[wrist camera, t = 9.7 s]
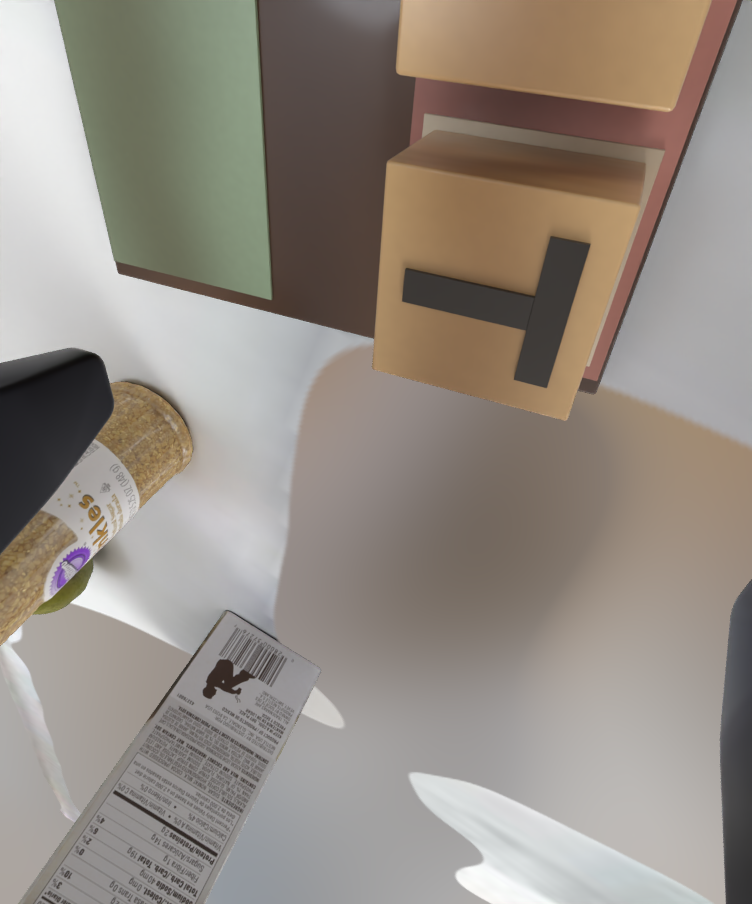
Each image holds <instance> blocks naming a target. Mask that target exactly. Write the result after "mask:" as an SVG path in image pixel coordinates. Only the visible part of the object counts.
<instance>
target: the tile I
mask: <svg viewBox="0 0 752 904" xmlns="http://www.w3.org/2000/svg"><path fill="white" fill-rule="evenodd" d="M711 2H712V0H401V3H400V17H399V30H398V44H397V58H396V72H397V73H398V74H399V75H403V76H410V77H417V78H425V79H432V80H439V81H446V82H453V83H460V84H468V85H475V86H482V87H489V88H496V89H504V90H511V91H518V92H525V93H532V94H540V95H547V96H554V97H561V98H568V99H575V100H583V101H590V102H597V103H604V104H611V105H619V106H626V107H633V108H640V109H647V110H654V111H662V112H670V111H672V110H673V109H674V108H675V106H676V103H677V101H678V98H679V95H680V92H681V89H682V86H683V83H684V80H685V77H686V75H687V72H688V69H689V66H690V63H691V60H692V57H693V54H694V51H695V49H696V46H697V43H698V40H699V37H700V34H701V31H702V28H703V25H704V23H705V20H706V17H707V14H708V11H709V8H710V5H711Z"/></svg>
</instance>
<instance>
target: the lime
mask: <svg viewBox="0 0 752 904" xmlns="http://www.w3.org/2000/svg"><path fill="white" fill-rule="evenodd" d="M92 572H93V559H92V558H91V559H90V560H89V561H88V562H87V563H86V564H85V565H84V566H83V567H82V568H81V569H80V570H79V571H78V572H77V573H76V574H75V575H74V576H73V577H72V578H71V579H70V580H69V581H68V582H67V583H66V584H65V585H64V586H63V587H62V588H61V589H60V590H59V591H58V592H57V593H56V594H55V595H54V596H53V597H52V598H51V599H49V600H48V601H46V602H44V603H43V604H41V605H40V606H39V607H38V609H37V610H36V611H35V612H34V613H33V614H32V615H34V614H47V613H51V612H55V611H58V610H60V609H62V608H64V607H66V606H67V605H68V604H69V603H70V602H71V601H73V600H74V599H75V598H76V597H78V596H79V595H80V594H81V593H82V592H83V591H84V590H85V588H86V586H87V583H88V581H89V579H90V577H91V574H92Z"/></svg>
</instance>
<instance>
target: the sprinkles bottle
mask: <svg viewBox="0 0 752 904" xmlns="http://www.w3.org/2000/svg"><path fill="white" fill-rule="evenodd" d="M110 386H111V390H112V393H113V397H114V409H113V412H112V415H111V417H110V418H109V420H108V421H107V422H106V424H105V425H104V426H103V428H102V429H101V431H100V432H99V433H98V435H97V436H96V438H95V439H94V440H93V442H92V443H91V444H90V446H89V447H88V449H87V450H86V451H85V453H84V454H83V455H82V457H81V458H80V460H79V461H78V462H77V464H76V465H75V466H74V468H73V469H72V471H71V472H70V473H69V475H68V476H67V477H66V479H65V480H64V482H63V483H62V484H61V486H60V487H59V488H58V489H57V491H56V492H55V493H54V495H53V496H52V497H51V498H50V499H49V500H48V502H47V503H46V504H45V505H44V506H43V507H42V509H41V510H40V511H39V512H38V513H37V514H36V515H35V516H34V518H33V519H32V520H31V521H30V522H29V523H28V524H27V525H26V527H25V528H24V529H23V530H22V531H21V532H20V533H19V534H18V536H17V537H16V538H15V539H14V540H13V541H12V542H11V543H10V545H9V546H8V547H7V548H6V549H5V550H4V551H3V552H2V554H1V555H0V646H1V645H2V644H3V643H4V642H5V641H6V640H7V639H8V638H9V636H10V635H12V634H13V633H14V632H15V631H16V630H17V629H18V628H19V627H20V626H21V625H22V624H23V623H24V622H25V621H26V620H27V619H28V618H29V617H30V616H31V615H32V614H33V613H34V612H35V611H36V610H37V609H38V607H39V606H40V605H41V604H43V603H44V602H46V601H48V600H49V599H51V598H52V597H53V596H54V595H55V594H56V593H57V592H58V591H59V590H60V589H61V588H62V587H63V586H64V585H65V584H66V583H67V582H68V581H69V580H70V579H71V578H72V577H73V576H74V575H75V574H76V573H77V572H78V571H79V570H80V569H81V568H82V567H83V566H84V565H85V564H86V563H87V562H88V561H89V560H90V559H91V558H92V557H93V556H94V555H95V554H96V553H97V552H98V551H99V550H100V549H101V548H102V547H103V546H104V545H106V544H107V543H108V542H109V541H110V540H111V539H112V538H113V537H114V536H115V535H116V534H117V533H118V532H119V531H120V530H121V529H122V528H123V527H124V526H125V525H126V524H127V523H128V522H129V521H130V520H131V519H132V518H133V517H134V516H135V515H136V513H137V511H138V510H139V509H140V508H141V507H142V506H143V505H144V504H145V503H146V502H147V501H148V500H149V499H150V498H151V497H152V496H153V495H154V494H155V493H156V492H157V491H158V490H159V489H160V488H161V487H162V486H163V485H164V484H165V483H166V482H167V481H168V480H169V479H171V478H172V477H173V476H174V475H177V474H178V473H180V472H181V471H182V470H183V469H184V468H185V467H186V466H187V464H188V463H189V461H190V460H191V457H192V452H193V447H192V440H191V436H190V433H189V431H188V429H187V427H186V426H185V424H184V421H183V419H182V418H181V417H180V415H179V414H178V413H177V412H176V411H175V410H174V409H173V408H172V406H171V405H170V404H169V403H168V402H167V401H166V400H164V399H163V398H162V397H160V396H159V395H157V394H156V393H154V392H152V391H150V390H149V389H147V388H145V387H143V386H140V385H136V384H131V383H129V382H115V383H110Z"/></svg>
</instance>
